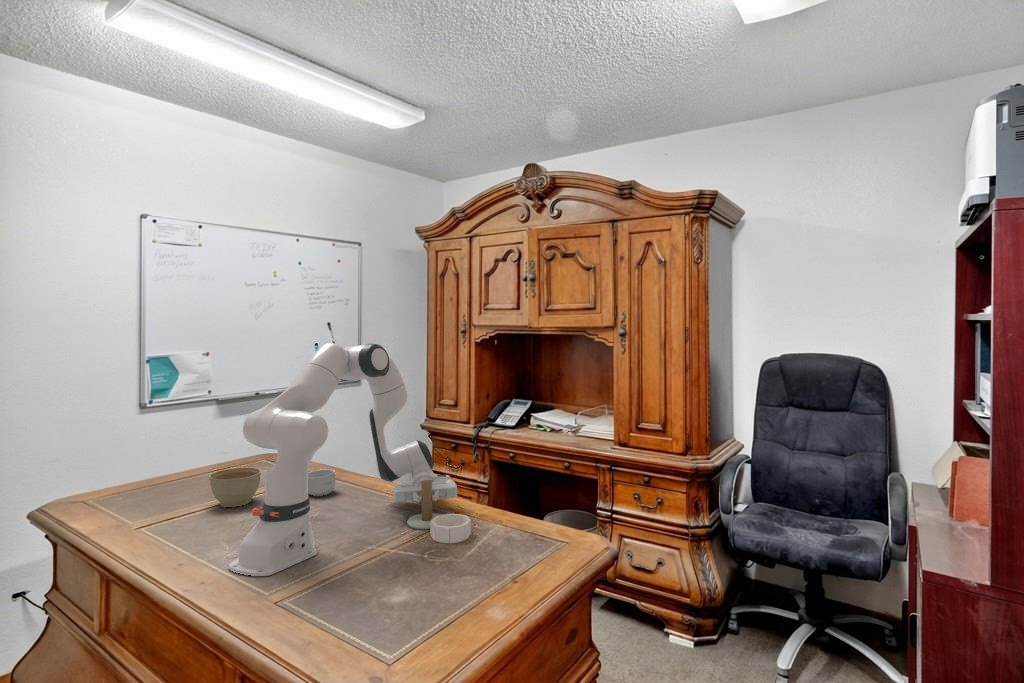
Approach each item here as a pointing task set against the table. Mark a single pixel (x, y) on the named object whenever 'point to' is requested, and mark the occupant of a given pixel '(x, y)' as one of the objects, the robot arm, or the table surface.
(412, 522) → the peg stand
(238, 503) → the planter bowl
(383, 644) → the table surface
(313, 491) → the teacup
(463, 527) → the bowl
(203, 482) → the table surface
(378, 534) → the table surface
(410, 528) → the mat
